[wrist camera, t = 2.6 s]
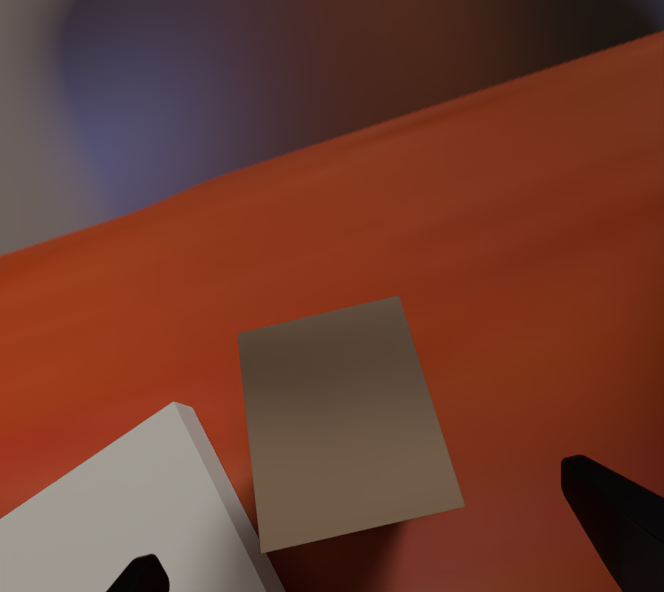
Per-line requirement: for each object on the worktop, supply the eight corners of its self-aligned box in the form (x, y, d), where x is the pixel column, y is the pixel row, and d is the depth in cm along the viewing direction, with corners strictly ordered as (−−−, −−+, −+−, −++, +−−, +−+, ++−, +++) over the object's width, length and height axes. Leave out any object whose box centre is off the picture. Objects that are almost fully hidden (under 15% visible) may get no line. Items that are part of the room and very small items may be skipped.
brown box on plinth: (432, 493, 17) (502, 527, 8) (310, 521, 17) (235, 588, 8) (395, 363, 19) (415, 274, 10) (289, 388, 19) (214, 321, 10)
